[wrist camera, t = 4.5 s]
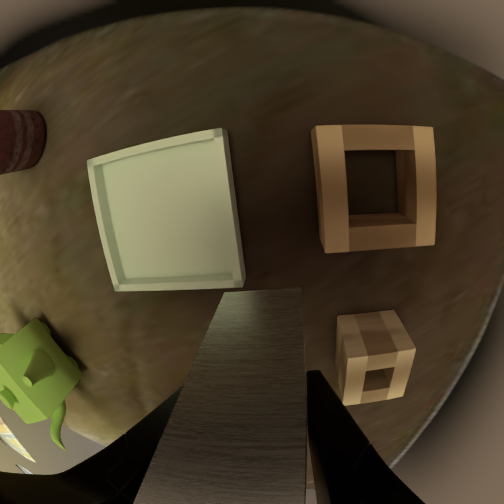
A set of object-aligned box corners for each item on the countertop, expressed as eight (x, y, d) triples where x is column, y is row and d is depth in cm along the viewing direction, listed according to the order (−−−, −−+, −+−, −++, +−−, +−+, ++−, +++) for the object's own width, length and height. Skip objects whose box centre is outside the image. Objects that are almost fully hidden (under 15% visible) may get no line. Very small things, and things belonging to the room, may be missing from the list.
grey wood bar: (305, 347, 12) (301, 559, 3) (237, 351, 12) (181, 547, 4) (301, 286, 11) (301, 545, 2) (224, 292, 11) (127, 517, 3)
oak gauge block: (414, 230, 19) (434, 244, 16) (319, 237, 20) (325, 253, 17) (411, 130, 17) (432, 127, 14) (310, 131, 18) (315, 125, 15)
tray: (246, 276, 22) (242, 287, 20) (125, 282, 24) (115, 291, 22) (227, 130, 19) (221, 127, 17) (99, 159, 20) (86, 160, 19)
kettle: (82, 325, 27) (21, 388, 16) (104, 405, 31) (68, 462, 21) (7, 293, 27) (-47, 331, 17) (32, 369, 32) (-6, 410, 22)
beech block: (386, 355, 23) (402, 396, 18) (335, 361, 24) (342, 405, 19) (393, 309, 22) (416, 348, 16) (337, 315, 22) (347, 358, 17)
